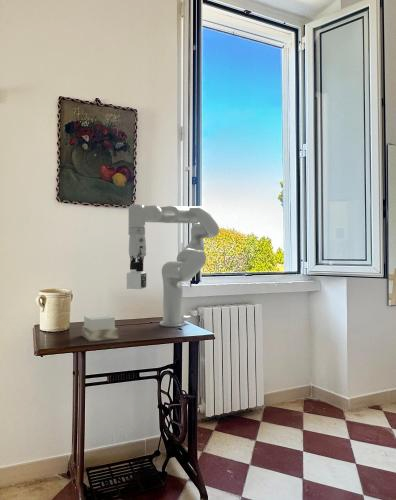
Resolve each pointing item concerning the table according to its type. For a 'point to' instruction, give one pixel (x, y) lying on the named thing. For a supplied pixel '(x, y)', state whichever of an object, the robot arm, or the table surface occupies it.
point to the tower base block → (99, 334)
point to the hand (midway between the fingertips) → (136, 270)
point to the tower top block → (99, 322)
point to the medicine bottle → (136, 278)
